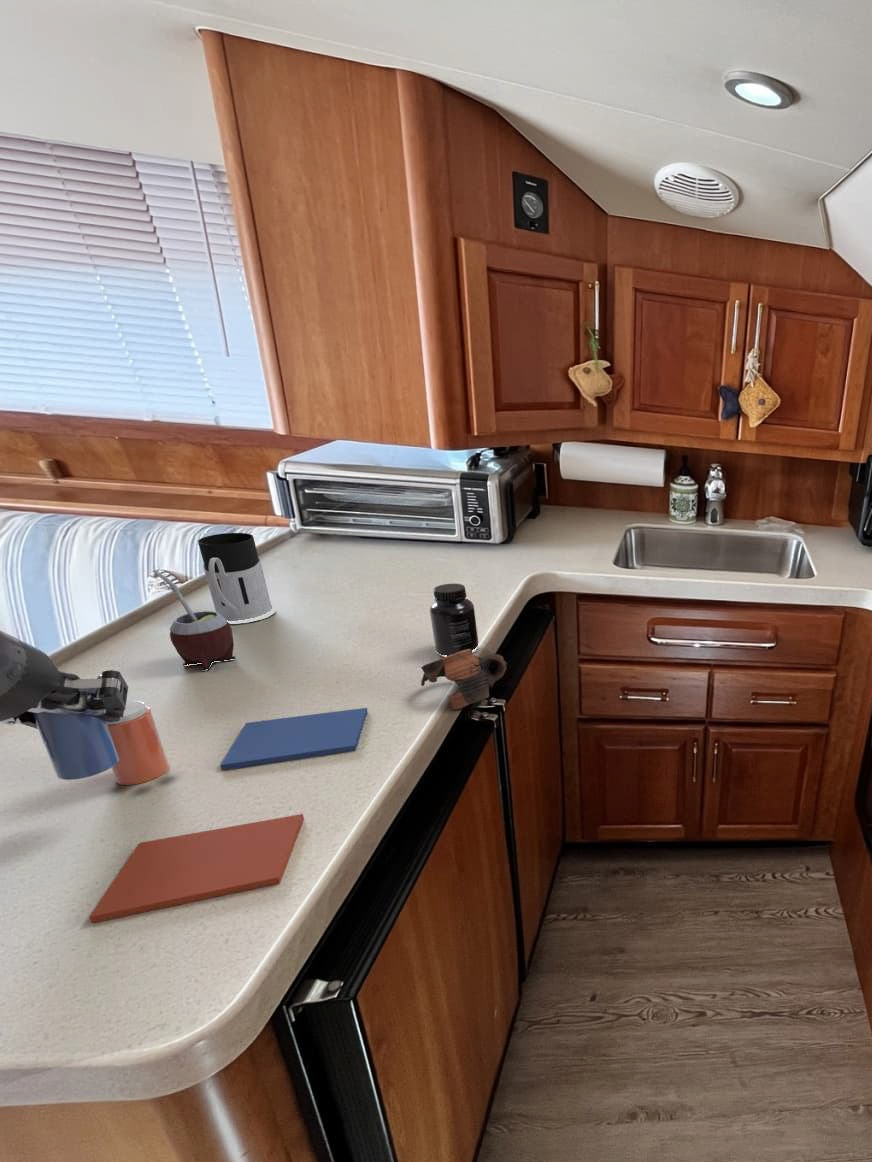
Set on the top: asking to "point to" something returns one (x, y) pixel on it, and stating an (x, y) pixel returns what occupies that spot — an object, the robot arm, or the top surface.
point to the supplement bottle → (453, 620)
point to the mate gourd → (200, 634)
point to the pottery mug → (466, 675)
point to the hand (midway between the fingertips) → (82, 716)
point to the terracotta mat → (200, 867)
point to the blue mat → (295, 738)
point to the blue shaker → (77, 744)
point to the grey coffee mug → (235, 576)
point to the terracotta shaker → (137, 746)
